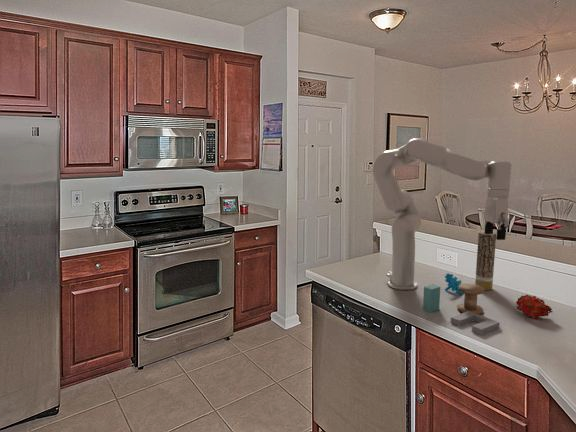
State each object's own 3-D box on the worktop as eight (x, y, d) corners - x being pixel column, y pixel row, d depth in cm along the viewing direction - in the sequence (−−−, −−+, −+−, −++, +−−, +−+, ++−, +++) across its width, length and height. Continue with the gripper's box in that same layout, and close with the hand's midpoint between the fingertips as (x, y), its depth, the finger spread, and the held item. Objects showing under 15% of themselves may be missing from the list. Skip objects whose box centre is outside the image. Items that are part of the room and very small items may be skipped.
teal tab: (423, 309, 167) (423, 286, 166) (431, 306, 170) (432, 284, 168) (430, 312, 164) (431, 289, 163) (439, 309, 167) (440, 286, 165)
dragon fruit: (512, 314, 165) (547, 328, 157) (509, 308, 159) (545, 321, 151) (521, 294, 166) (556, 307, 159) (518, 287, 160) (555, 300, 152)
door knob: (452, 309, 167) (453, 286, 165) (467, 304, 171) (468, 282, 170) (473, 317, 159) (474, 293, 158) (488, 311, 164) (489, 288, 162)
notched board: (450, 322, 155) (451, 317, 155) (468, 316, 160) (468, 311, 160) (481, 335, 145) (481, 329, 145) (499, 327, 150) (499, 322, 150)
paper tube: (493, 291, 185) (498, 233, 180) (476, 290, 186) (480, 233, 182) (490, 286, 192) (494, 230, 187) (473, 285, 193) (477, 229, 188)
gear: (457, 294, 178) (443, 273, 182) (446, 301, 181) (433, 281, 186) (469, 291, 185) (455, 271, 190) (459, 298, 189) (445, 278, 193)
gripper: (478, 190, 177) (475, 231, 180) (499, 196, 160) (495, 242, 163) (496, 190, 177) (493, 231, 180) (519, 196, 160) (515, 241, 163)
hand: (494, 236), depth 171 cm, fingers open, 9 cm apart
